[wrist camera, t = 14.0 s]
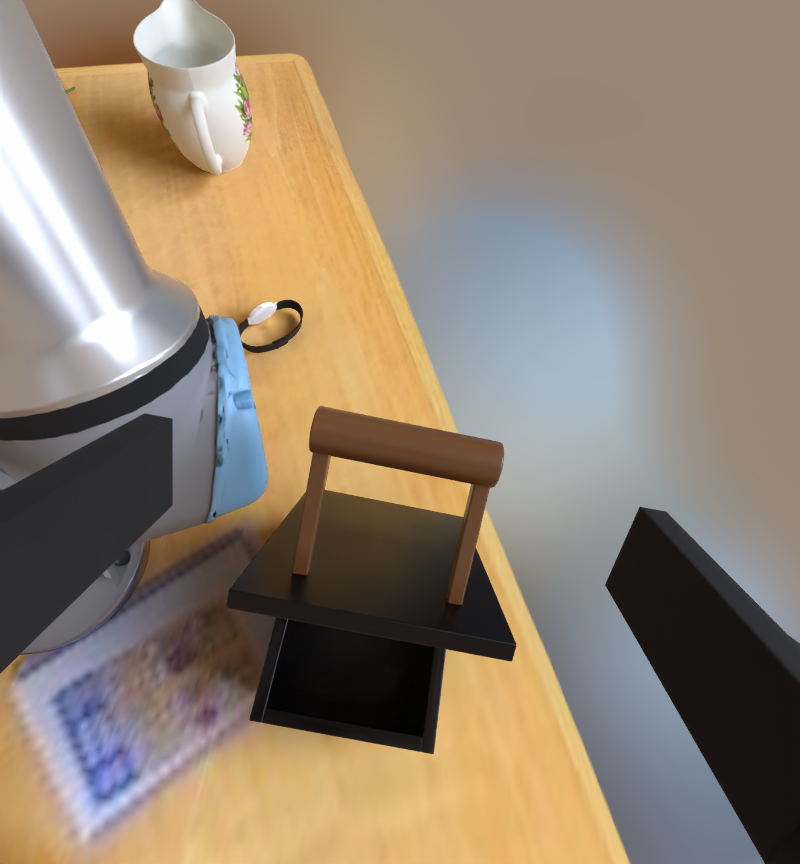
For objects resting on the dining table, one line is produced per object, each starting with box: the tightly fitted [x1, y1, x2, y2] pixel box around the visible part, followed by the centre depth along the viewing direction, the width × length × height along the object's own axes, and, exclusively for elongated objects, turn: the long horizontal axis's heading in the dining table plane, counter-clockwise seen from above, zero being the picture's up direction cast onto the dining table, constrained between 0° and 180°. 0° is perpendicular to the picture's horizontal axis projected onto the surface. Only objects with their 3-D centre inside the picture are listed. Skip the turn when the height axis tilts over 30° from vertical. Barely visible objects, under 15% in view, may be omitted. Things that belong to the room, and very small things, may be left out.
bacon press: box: [227, 406, 516, 661], centre depth 25 cm, size 15×12×8 cm
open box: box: [249, 617, 446, 754], centre depth 35 cm, size 15×12×10 cm
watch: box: [238, 300, 303, 353], centre depth 48 cm, size 8×5×4 cm, turn 130°
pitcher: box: [133, 0, 252, 175], centre depth 53 cm, size 11×18×14 cm, turn 14°
